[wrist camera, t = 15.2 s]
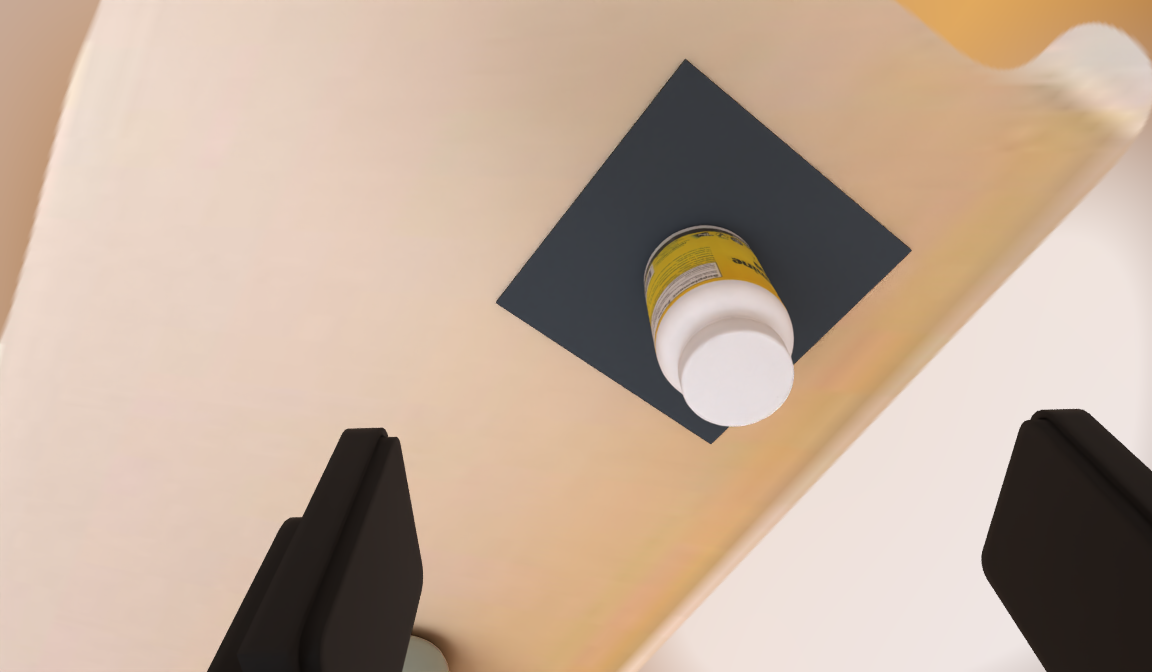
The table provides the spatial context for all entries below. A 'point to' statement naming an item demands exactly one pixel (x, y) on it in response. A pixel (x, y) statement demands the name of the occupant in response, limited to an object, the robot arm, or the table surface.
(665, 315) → the pill bottle
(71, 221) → the table surface
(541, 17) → the table surface
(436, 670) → the cup
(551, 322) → the mat
